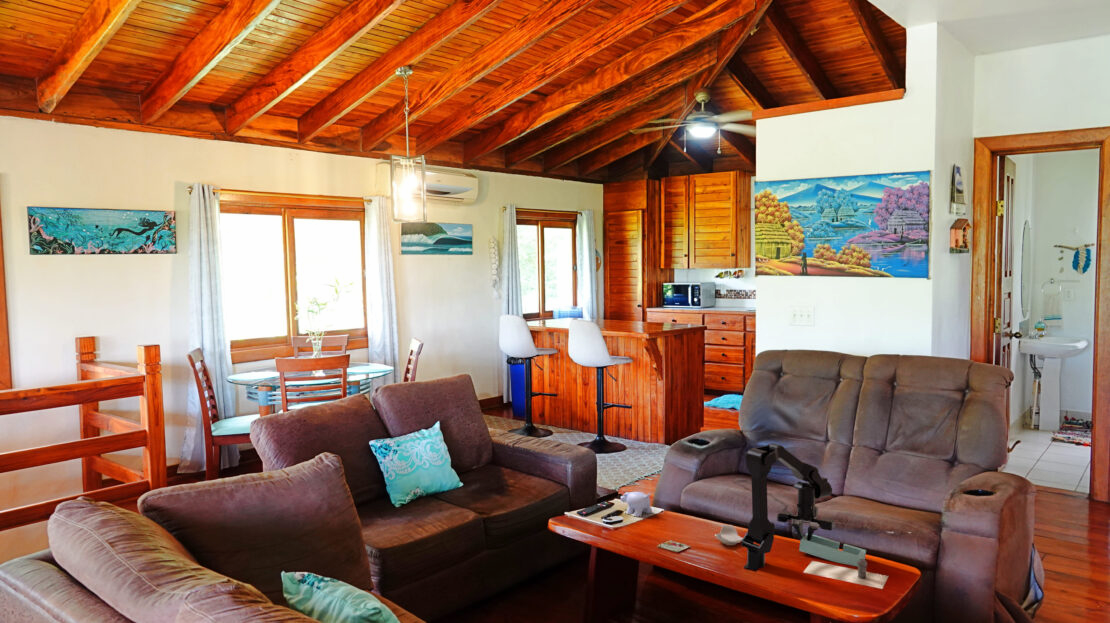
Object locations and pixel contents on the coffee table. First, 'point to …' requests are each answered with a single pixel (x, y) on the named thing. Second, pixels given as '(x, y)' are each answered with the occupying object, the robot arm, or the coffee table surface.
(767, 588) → the coffee table surface
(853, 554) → the mint green notched block
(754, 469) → the robot arm
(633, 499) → the grey bear figurine
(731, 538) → the pottery shard
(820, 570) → the post stand
